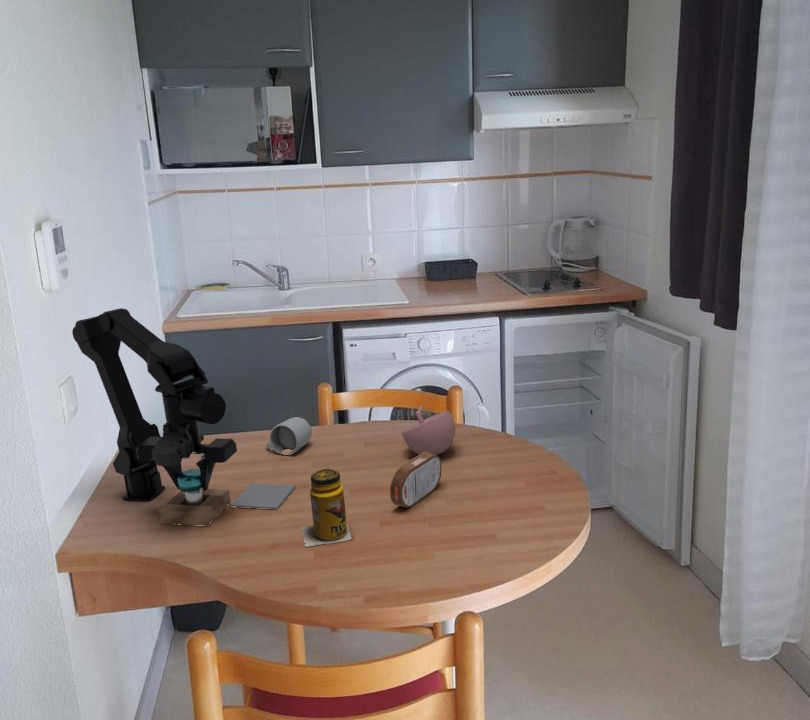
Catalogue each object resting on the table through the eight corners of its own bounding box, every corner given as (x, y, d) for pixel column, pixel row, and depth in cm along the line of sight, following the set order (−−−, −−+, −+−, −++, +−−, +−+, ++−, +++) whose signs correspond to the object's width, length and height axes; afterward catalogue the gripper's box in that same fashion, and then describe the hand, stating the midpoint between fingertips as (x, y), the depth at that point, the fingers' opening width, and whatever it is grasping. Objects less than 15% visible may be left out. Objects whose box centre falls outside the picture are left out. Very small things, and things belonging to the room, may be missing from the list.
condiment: (352, 540, 135) (346, 479, 131) (305, 548, 133) (298, 486, 130) (346, 521, 142) (340, 463, 138) (301, 529, 140) (294, 470, 137)
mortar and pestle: (423, 440, 178) (420, 394, 175) (466, 449, 171) (464, 402, 168) (393, 458, 169) (389, 410, 166) (437, 468, 162) (434, 419, 159)
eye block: (160, 524, 145) (158, 510, 144) (186, 500, 155) (184, 487, 154) (207, 527, 143) (205, 512, 142) (230, 503, 152) (228, 489, 151)
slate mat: (230, 507, 150) (230, 505, 150) (251, 486, 160) (251, 483, 159) (277, 510, 148) (276, 507, 148) (295, 488, 157) (295, 485, 157)
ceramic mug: (315, 444, 180) (311, 414, 178) (299, 457, 173) (295, 426, 171) (277, 441, 184) (273, 412, 182) (259, 454, 177) (255, 423, 175)
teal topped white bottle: (178, 519, 147) (171, 479, 145) (191, 506, 152) (185, 468, 150) (202, 520, 146) (196, 480, 143) (214, 508, 151) (208, 469, 148)
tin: (432, 482, 156) (430, 444, 153) (445, 485, 154) (443, 447, 152) (390, 512, 144) (386, 472, 142) (403, 516, 142) (400, 475, 140)
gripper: (113, 429, 138) (127, 506, 142) (205, 431, 133) (217, 510, 138) (146, 408, 148) (158, 480, 152) (232, 410, 144) (243, 484, 148)
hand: (192, 489), depth 147 cm, fingers closed on teal topped white bottle, 5 cm apart
